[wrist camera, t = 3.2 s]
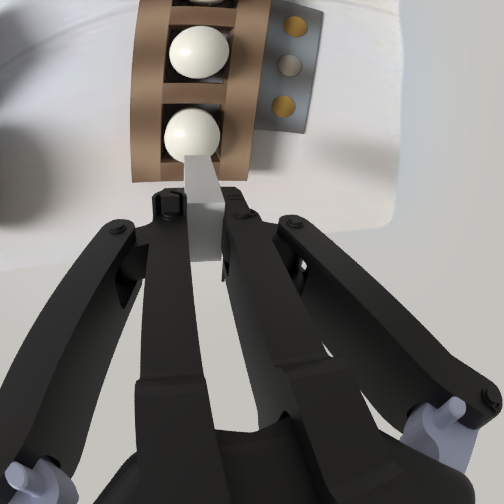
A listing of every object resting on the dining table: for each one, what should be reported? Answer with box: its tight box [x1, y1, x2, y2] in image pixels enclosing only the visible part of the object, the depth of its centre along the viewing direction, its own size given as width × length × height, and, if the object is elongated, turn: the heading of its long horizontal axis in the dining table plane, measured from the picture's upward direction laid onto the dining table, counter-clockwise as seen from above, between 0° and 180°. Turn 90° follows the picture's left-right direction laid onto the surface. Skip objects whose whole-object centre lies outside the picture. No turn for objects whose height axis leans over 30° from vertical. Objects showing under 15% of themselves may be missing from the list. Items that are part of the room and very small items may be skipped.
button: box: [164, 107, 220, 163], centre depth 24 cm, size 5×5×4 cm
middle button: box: [169, 26, 229, 78], centre depth 20 cm, size 5×5×4 cm
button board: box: [130, 0, 323, 183], centre depth 22 cm, size 26×19×4 cm
